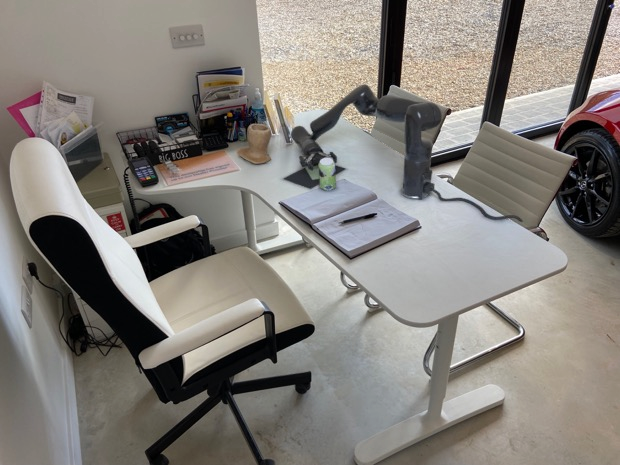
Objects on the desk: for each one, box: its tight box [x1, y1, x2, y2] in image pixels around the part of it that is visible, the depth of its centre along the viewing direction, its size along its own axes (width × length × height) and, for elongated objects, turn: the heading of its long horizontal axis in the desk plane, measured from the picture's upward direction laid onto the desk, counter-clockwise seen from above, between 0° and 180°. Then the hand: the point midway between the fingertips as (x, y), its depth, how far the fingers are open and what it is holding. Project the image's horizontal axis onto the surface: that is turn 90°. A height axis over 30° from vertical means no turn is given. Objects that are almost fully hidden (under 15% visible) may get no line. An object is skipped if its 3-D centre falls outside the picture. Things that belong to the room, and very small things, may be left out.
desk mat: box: [283, 163, 346, 190], centre depth 198 cm, size 14×22×1 cm, turn 140°
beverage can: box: [318, 158, 337, 191], centre depth 183 cm, size 6×7×12 cm
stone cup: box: [236, 123, 272, 165], centre depth 209 cm, size 15×12×15 cm
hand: (322, 166), depth 188 cm, fingers open, 8 cm apart
